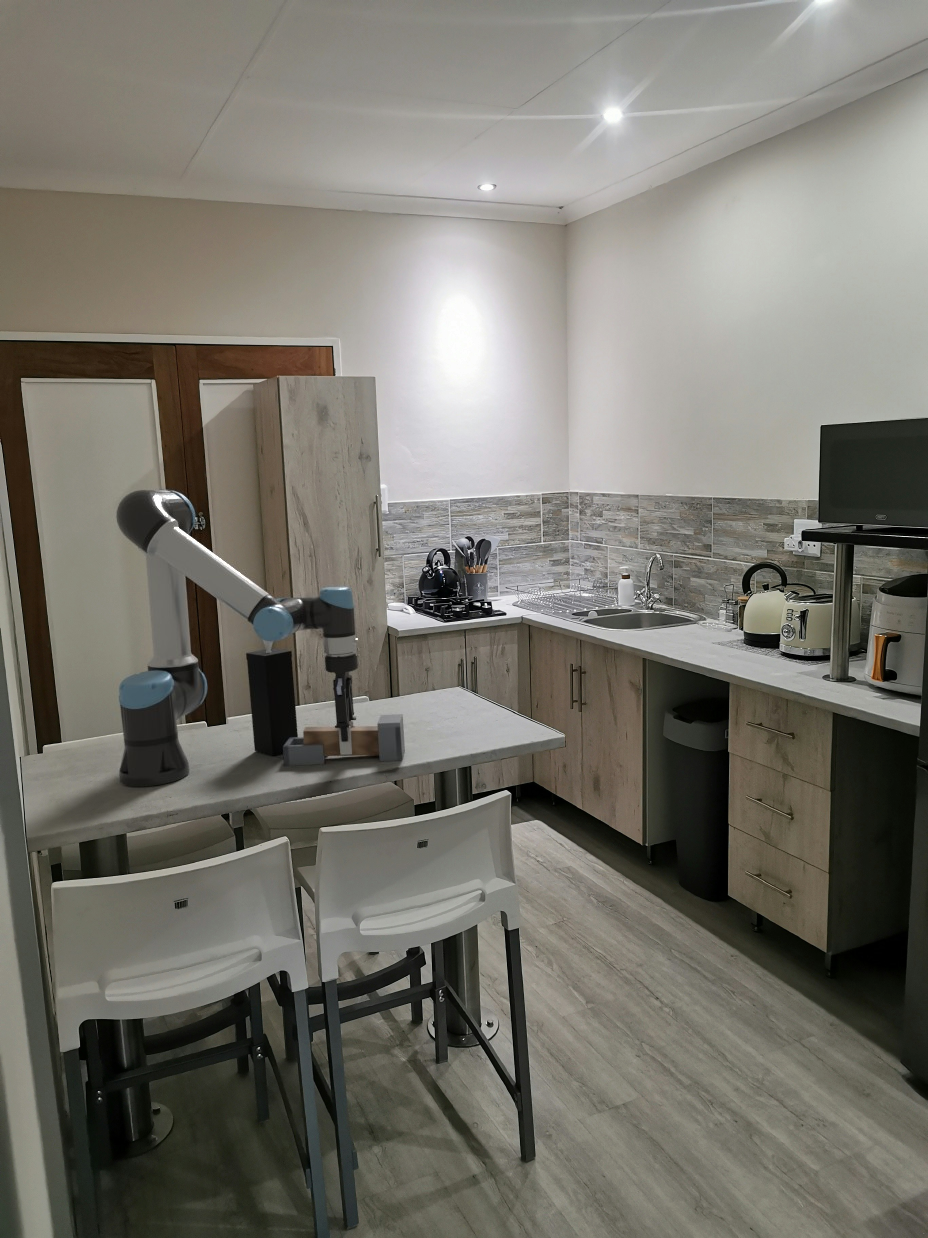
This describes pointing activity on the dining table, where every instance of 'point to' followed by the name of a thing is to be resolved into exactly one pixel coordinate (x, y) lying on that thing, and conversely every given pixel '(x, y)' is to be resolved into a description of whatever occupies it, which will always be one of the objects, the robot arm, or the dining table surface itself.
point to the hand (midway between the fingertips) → (347, 751)
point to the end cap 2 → (391, 737)
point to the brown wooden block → (329, 737)
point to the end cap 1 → (302, 752)
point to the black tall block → (272, 698)
